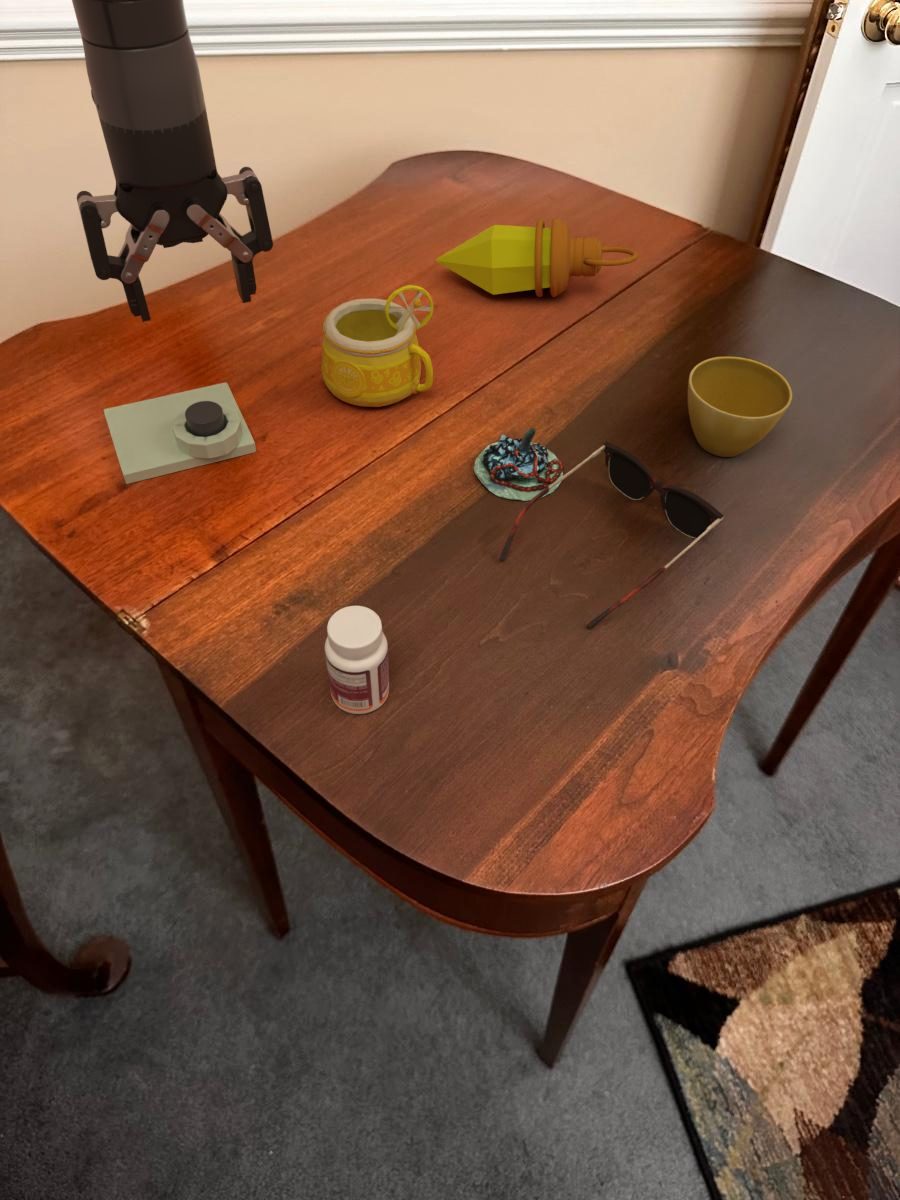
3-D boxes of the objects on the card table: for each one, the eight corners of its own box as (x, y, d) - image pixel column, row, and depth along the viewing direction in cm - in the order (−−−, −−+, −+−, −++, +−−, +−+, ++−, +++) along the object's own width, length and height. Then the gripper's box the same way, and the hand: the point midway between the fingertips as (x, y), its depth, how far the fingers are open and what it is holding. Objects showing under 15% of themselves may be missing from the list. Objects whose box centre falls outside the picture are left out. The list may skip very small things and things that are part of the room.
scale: (127, 489, 84) (119, 465, 82) (106, 418, 91) (98, 394, 89) (258, 456, 88) (254, 433, 85) (228, 390, 95) (224, 367, 92)
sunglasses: (713, 549, 81) (726, 512, 77) (601, 647, 75) (608, 612, 71) (600, 475, 88) (607, 437, 84) (487, 559, 81) (489, 522, 77)
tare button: (193, 441, 85) (189, 427, 84) (184, 419, 87) (181, 405, 86) (229, 432, 86) (226, 418, 85) (220, 411, 88) (217, 397, 87)
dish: (531, 412, 90) (538, 416, 82) (565, 471, 91) (575, 481, 84) (465, 454, 91) (466, 461, 83) (500, 511, 92) (504, 524, 85)
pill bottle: (366, 657, 72) (361, 591, 66) (401, 695, 70) (400, 630, 63) (318, 686, 70) (308, 621, 63) (352, 726, 68) (346, 662, 61)
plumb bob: (430, 308, 108) (636, 305, 104) (425, 230, 102) (641, 224, 98) (441, 286, 115) (634, 283, 111) (437, 213, 110) (639, 207, 106)
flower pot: (736, 487, 87) (758, 431, 82) (654, 441, 91) (669, 384, 86) (787, 443, 92) (811, 386, 86) (706, 400, 96) (724, 344, 91)
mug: (303, 398, 94) (292, 297, 85) (353, 347, 101) (347, 248, 92) (409, 433, 91) (409, 332, 82) (453, 377, 98) (457, 278, 88)
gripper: (53, 138, 58) (118, 348, 70) (262, 110, 62) (288, 314, 74) (40, 96, 62) (104, 300, 75) (236, 72, 66) (265, 270, 79)
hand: (196, 307), depth 75 cm, fingers open, 8 cm apart
